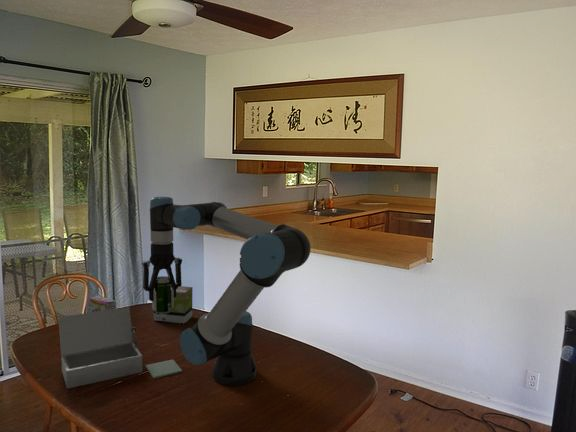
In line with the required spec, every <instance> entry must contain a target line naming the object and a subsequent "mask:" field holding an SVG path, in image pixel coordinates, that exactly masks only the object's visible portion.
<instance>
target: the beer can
mask: <svg viewBox="0 0 576 432" xmlns="http://www.w3.org/2000/svg"><path fill="white" fill-rule="evenodd" d="M154 290H155V291H156V311H155V312H156V313H157V314H166V313H169V312H170V310H171V281H170V278H169V277H168V275H167V276H165V275H164V276H163V275H162V276H158V277H157V281H156V285H155V288H154Z"/></svg>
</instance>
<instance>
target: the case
mask: <svg viewBox="0 0 576 432" xmlns="http://www.w3.org/2000/svg"><path fill="white" fill-rule="evenodd" d="M58 328H59V329H58V331H59V341H60V342H59V344H60V346H59V347H60V356H61V357H60V358H61V374H62V376H63V379H64V383H65V387H66V389H71V388H77V387H81V386H85V385H90V384H95V383H99V382H102V381H107V380H113V379H118V378H121V377H126V376H131V375H136V374H140V373H143V355H142V354H141V352H140V350H139V349H138V347H139V344H138V343H139V341H138V337H137V334H136V331H137V329H136V326H132V319H131V309H130V306H126V307H125V306H124V307H120V308H116V309H111V310H104V311H97V312H91V313H90V312H85V313H84V312H83V313H78V314H77V313H76V314H72V315H70V314H69V315H64V316H58Z"/></svg>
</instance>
